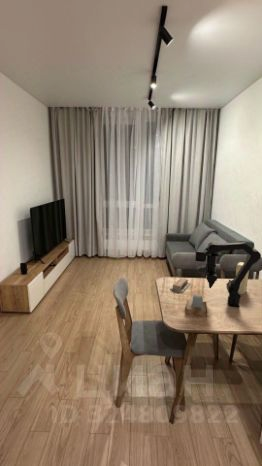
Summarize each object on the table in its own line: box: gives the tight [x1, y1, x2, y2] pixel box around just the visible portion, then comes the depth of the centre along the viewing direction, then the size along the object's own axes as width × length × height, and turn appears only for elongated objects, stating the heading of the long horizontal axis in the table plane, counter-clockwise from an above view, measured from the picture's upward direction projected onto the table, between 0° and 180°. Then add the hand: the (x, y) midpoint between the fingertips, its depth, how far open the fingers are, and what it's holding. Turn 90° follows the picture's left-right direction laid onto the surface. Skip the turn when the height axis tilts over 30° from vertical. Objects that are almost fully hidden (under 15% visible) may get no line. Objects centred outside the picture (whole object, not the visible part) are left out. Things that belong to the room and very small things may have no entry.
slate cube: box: [192, 294, 204, 308], centre depth 154 cm, size 6×6×6 cm
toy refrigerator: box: [235, 261, 250, 295], centre depth 181 cm, size 8×7×21 cm
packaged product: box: [169, 278, 192, 294], centre depth 188 cm, size 18×5×10 cm
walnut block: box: [185, 299, 209, 318], centre depth 154 cm, size 12×12×4 cm
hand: (209, 285), depth 164 cm, fingers open, 9 cm apart
